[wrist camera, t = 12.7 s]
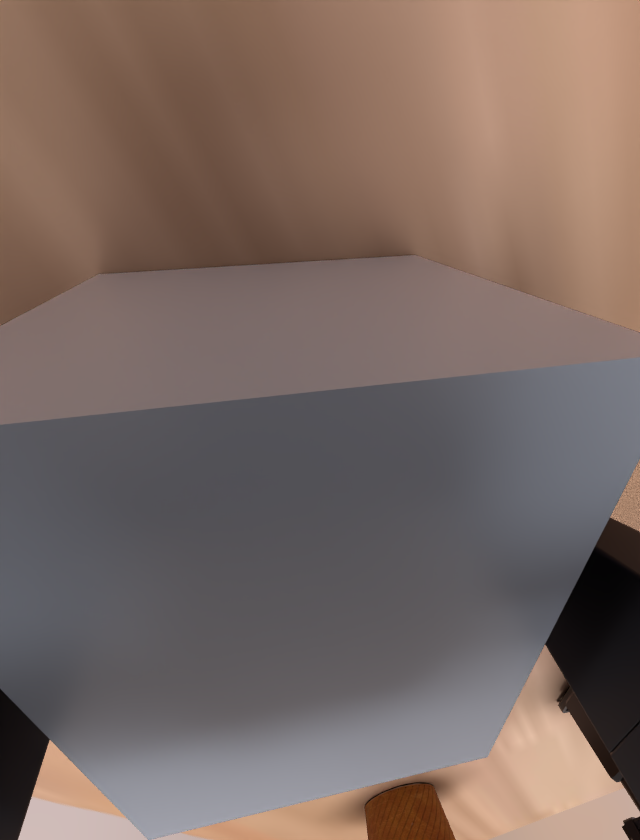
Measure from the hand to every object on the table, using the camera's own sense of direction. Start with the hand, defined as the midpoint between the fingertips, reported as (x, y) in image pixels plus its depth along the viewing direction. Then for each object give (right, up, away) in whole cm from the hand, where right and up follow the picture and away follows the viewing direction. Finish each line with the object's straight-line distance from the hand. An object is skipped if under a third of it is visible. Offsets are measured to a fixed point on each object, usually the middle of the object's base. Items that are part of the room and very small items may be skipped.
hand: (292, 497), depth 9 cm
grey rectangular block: (0, +1, +3) cm, 3 cm away
